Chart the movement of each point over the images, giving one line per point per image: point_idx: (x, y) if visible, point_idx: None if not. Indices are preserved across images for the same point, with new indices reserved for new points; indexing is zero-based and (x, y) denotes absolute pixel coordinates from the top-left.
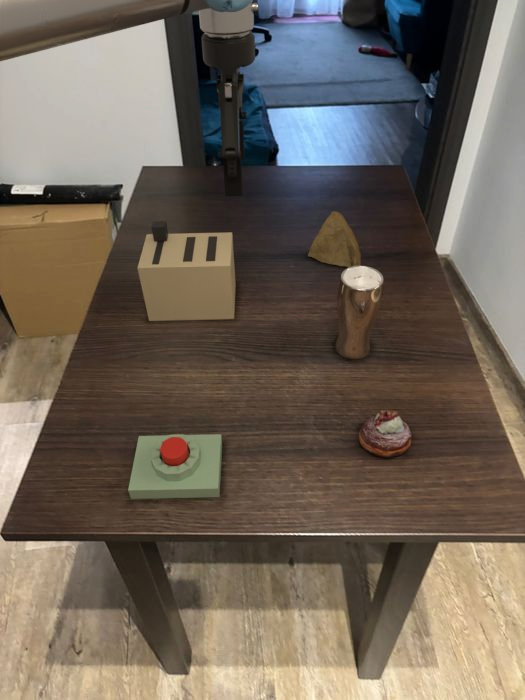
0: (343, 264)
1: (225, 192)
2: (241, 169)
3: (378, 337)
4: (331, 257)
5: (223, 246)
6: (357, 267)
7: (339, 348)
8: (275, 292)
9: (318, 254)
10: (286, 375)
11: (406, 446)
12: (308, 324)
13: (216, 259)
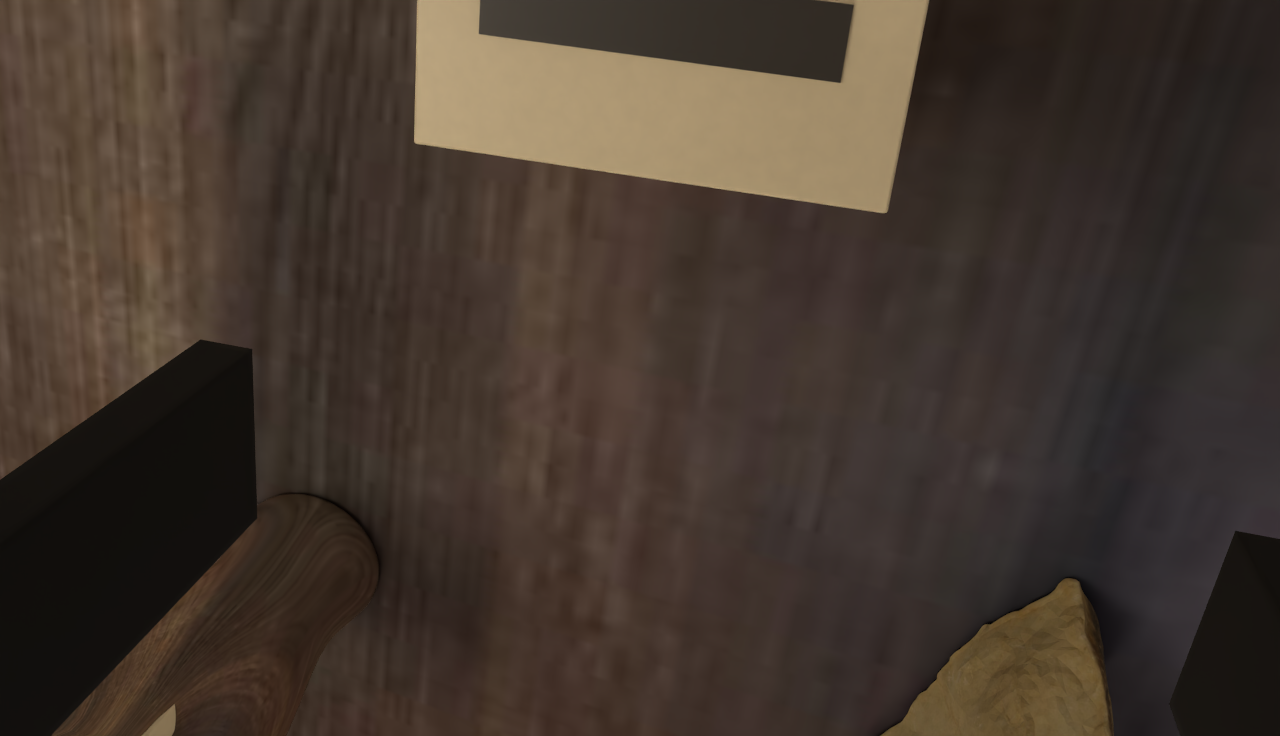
0: (910, 718)
1: (176, 361)
2: (77, 698)
3: (369, 666)
4: (957, 691)
5: (676, 120)
6: None
7: (262, 512)
8: (754, 330)
9: (1019, 639)
10: (147, 259)
11: None
12: (471, 428)
13: (498, 46)
